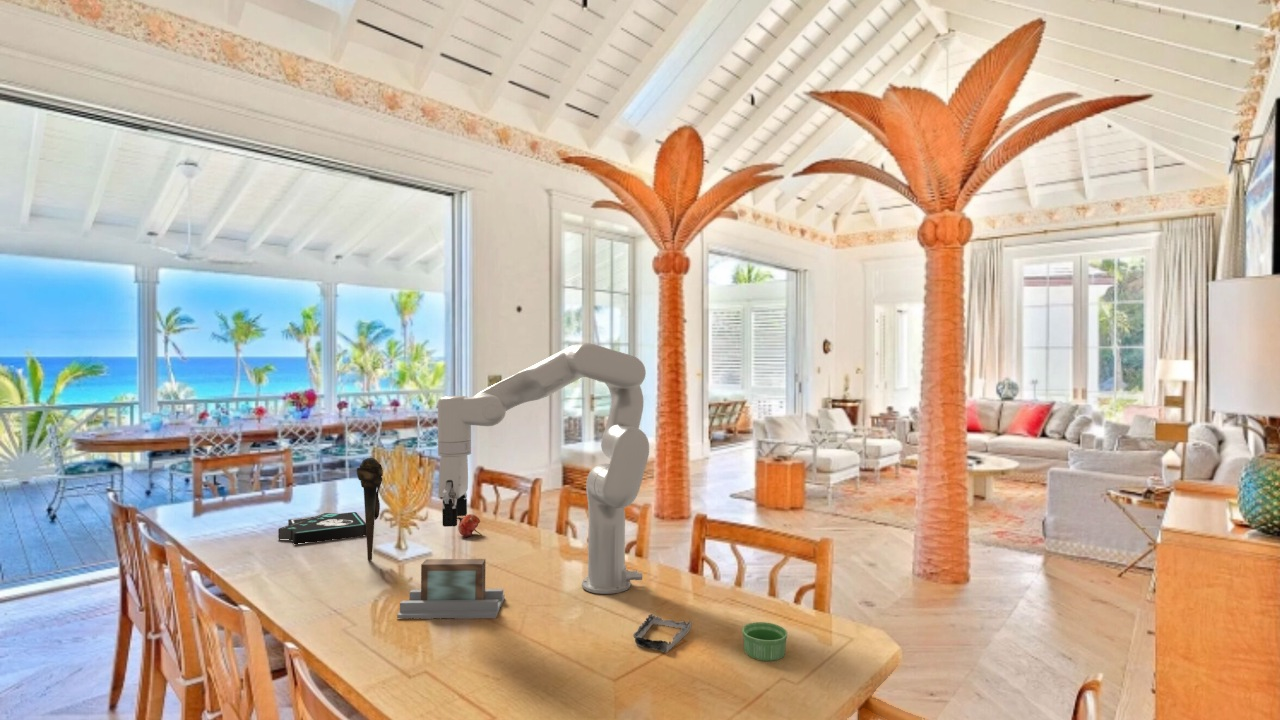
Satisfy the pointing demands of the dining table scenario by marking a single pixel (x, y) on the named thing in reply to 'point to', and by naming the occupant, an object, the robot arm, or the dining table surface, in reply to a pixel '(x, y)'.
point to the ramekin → (764, 641)
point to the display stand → (451, 606)
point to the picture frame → (453, 579)
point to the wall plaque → (323, 527)
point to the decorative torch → (370, 496)
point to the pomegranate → (468, 525)
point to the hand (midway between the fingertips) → (455, 520)
